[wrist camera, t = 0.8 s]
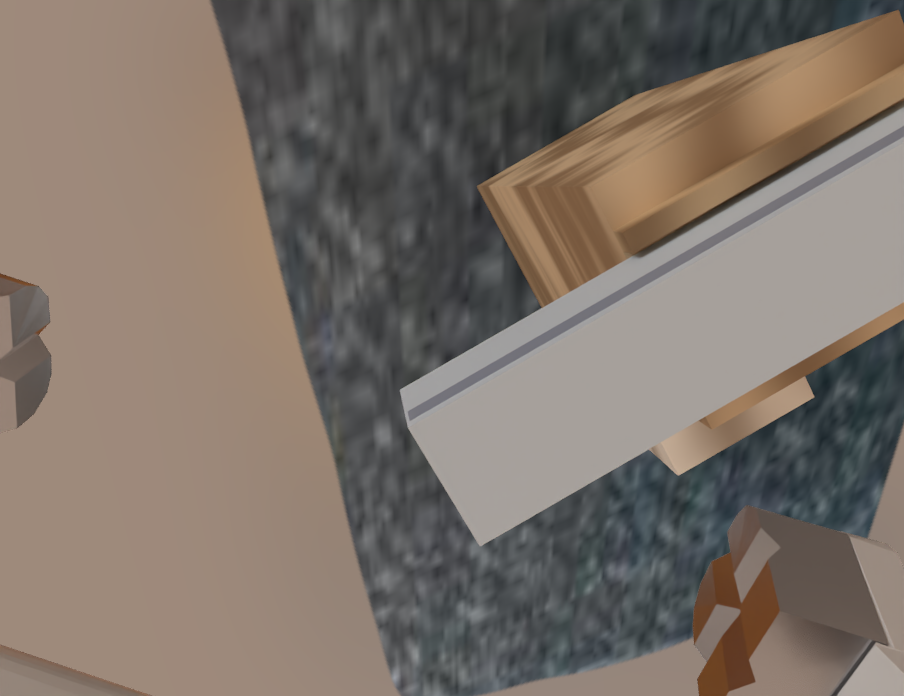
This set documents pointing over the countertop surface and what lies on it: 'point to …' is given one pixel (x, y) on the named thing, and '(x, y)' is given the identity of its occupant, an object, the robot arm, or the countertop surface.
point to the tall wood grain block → (697, 184)
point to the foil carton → (669, 333)
